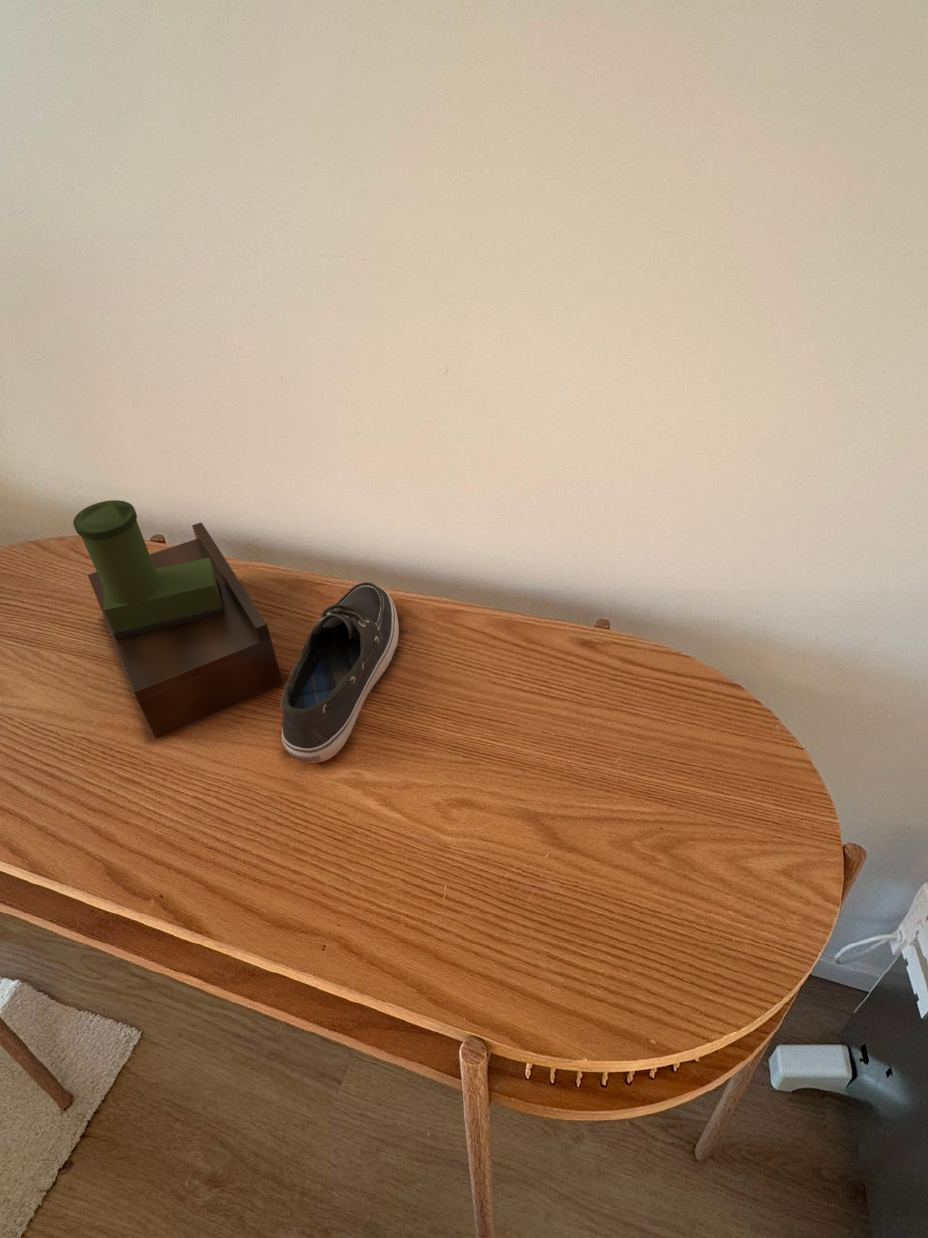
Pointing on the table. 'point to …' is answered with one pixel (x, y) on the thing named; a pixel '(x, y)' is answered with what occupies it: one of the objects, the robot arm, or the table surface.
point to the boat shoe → (337, 672)
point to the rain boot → (143, 575)
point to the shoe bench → (198, 649)
